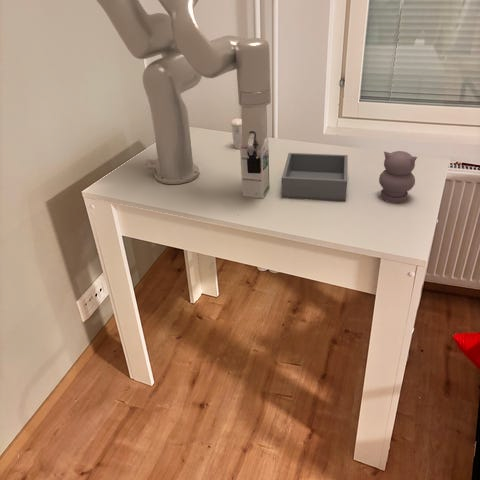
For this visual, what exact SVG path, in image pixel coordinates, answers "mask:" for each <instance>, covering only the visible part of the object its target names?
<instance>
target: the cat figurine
mask: <svg viewBox="0 0 480 480" xmlns="http://www.w3.org/2000/svg"><path fill="white" fill-rule="evenodd" d="M383 153H384V162H383V166H384V170H383V171H382V172H381V173H380V174H379V178H378V183H379V185H380V186H381V188H382V189H381V191H380V198H381V199H382V200H383V201H386V202H388V203H391V204H393V203H394V204H399V203H400V204H401V203H404V202H405V201H407V199H408V194H409V193H408V192H409V191H410V190H412V189H413V187H414V186H415V185H416V180H415V179H416V178H415V175H414V174H413V173H412V172H413V170H414V169H415V166H416V161H417V159H418V157H417V156H413V155H412V154H411V153H409V152H406V151H402V150H395V151H392V152H388V151H383Z"/></svg>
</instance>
